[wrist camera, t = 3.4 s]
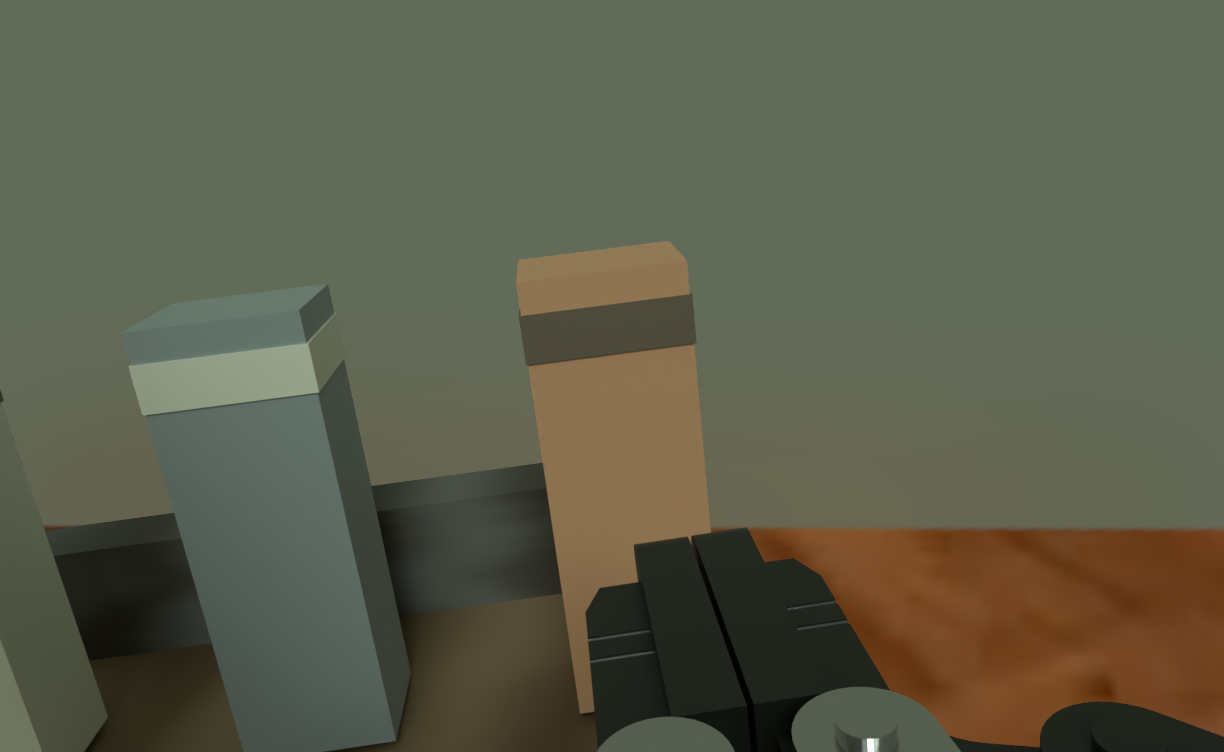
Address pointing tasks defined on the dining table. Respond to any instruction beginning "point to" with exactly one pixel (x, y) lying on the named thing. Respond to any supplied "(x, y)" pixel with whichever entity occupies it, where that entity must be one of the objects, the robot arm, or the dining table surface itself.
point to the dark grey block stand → (427, 607)
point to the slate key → (276, 515)
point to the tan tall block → (613, 415)
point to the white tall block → (38, 630)
